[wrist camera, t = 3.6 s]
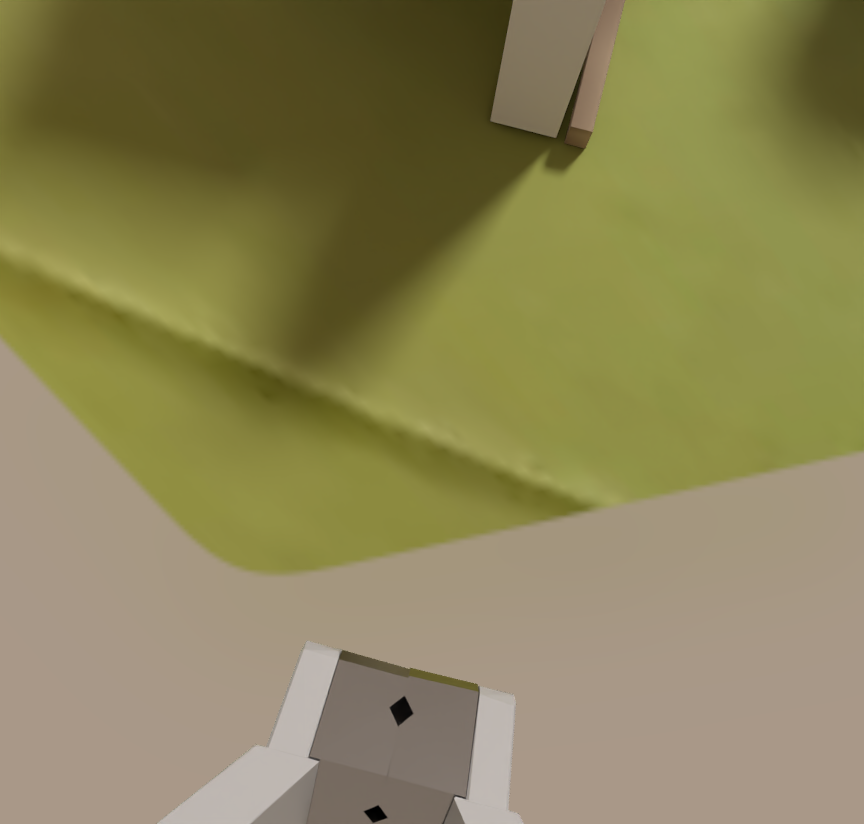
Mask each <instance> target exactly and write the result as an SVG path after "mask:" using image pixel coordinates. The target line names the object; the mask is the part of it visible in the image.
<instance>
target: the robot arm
mask: <svg viewBox="0 0 864 824" xmlns="http://www.w3.org/2000/svg"><path fill="white" fill-rule="evenodd" d="M515 709H516V701H515V698H514V695H513V694H510V693H506V692H502V691H498V690H493V689H490V688H485V687H481V686H478V685H477V684H474V683H470V682H466V681H462V680H458V679H454V678H450V677H446V676H442V675H437V674H433V673H429V672H425V671H421V670H417V669H413V668H410V669H408V668H404V667H401V666H397V665H394V664H390V663H387V662H383V661H379V660H376V659H372V658H369V657H365V656H361V655H358V654H355V653H351V652H348V651H344V650H341V649H338V648H334V647H330V646H326V645H322V644H319V643H315V642H311V641H306V643H305V645H304V647H303V648H302V650H301V653H300V655H299V658H298V661H297V664H296V666H295V669H294V672H293V675H292V677H291V680H290V683H289V686H288V688H287V691H286V694H285V697H284V699H283V702H282V705H281V708H280V710H279V713H278V716H277V719H276V721H275V724H274V727H273V730H272V732H271V735H270V738H269V741H268V744H267V746H266V747H265V746H261V745H257V744H256V745H254V746H253V747H252V748H251V749H249V750H248V751H247V752H246V753H244V754H243V755H242V756H241V757H239V758H238V759H237V760H235V761H234V762H233V763H232V764H230V765H229V766H228V767H227V768H225V769H224V770H223V771H222V772H221V773H219V774H218V775H217V776H215V777H214V778H213V779H212V780H211V781H209V782H208V783H207V784H205V785H204V786H203V787H202V788H200V789H199V790H198V791H197V792H196V793H194V794H193V795H192V796H190V797H189V798H188V799H187V800H185V801H184V802H183V803H181V804H180V805H179V806H178V807H176V808H175V809H174V810H173V811H171V812H170V813H169V814H168V815H166V816H165V817H164V818H163V819H162V820H160V821H159V822H158V823H156V824H524V823H523V821H522V820H521V817H520V815H519V814H518V813H515V812H512V811H509V810H508V805H509V791H510V777H511V764H512V750H513V737H514V736H513V735H514V721H515Z"/></svg>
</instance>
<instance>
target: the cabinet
mask: <svg viewBox="0 0 864 824" xmlns="http://www.w3.org/2000/svg"><path fill="white" fill-rule="evenodd" d="M624 2H625V0H606V2H605V5H604V7H603V10H602V13H601V16H600V18H599V21H598V24H597V27H596V29H595V32H594V35H593V38H592V40H591V43H590V46H589V49H588V51H587V55H586V59H585V63H584V67H583V70H582V74H581V78H580V82H579V86H578V90H577V94H576V98H575V102H574V106H573V110H572V114H571V118H570V122H569V126H568V130H567V134H566V138H565V142H564V143H565V144H569V145H573V146H577V147H581V148H586V146H587V143H588V141H589V139H590V137H591V134H592V132H593V128H594V124H595V120H596V116H597V112H598V108H599V104H600V100H601V96H602V92H603V88H604V84H605V80H606V75H607V71H608V67H609V63H610V59H611V55H612V51H613V47H614V43H615V39H616V35H617V31H618V27H619V23H620V19H621V15H622V11H623V6H624Z"/></svg>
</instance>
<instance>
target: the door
mask: <svg viewBox="0 0 864 824" xmlns="http://www.w3.org/2000/svg"><path fill="white" fill-rule="evenodd" d="M605 2H606V0H513V4H512V9H511V15H510V20H509V25H508V30H507V36H506V41H505V46H504V51H503V57H502V62H501V67H500V72H499V78H498V83H497V88H496V93H495V99H494V104H493V109H492V114H491V119H490V121H492V122H495V123H499V124H503V125H507V126H511V127H515V128H519V129H523V130H527V131H530V132H534V133H538V134H542V135H546V136H550V137H554V138H556V137H557V134H558V131H559V128H560V126H561V123H562V120H563V117H564V115H565V112H566V109H567V106H568V104H569V101H570V98H571V95H572V93H573V90H574V87H575V84H576V82H577V79H578V76H579V73H580V71H581V68H582V65H583V62H584V60H585V57H586V54H587V51H588V49H589V46H590V43H591V40H592V38H593V35H594V32H595V29H596V27H597V24H598V21H599V18H600V16H601V13H602V10H603V7H604V5H605Z"/></svg>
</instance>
